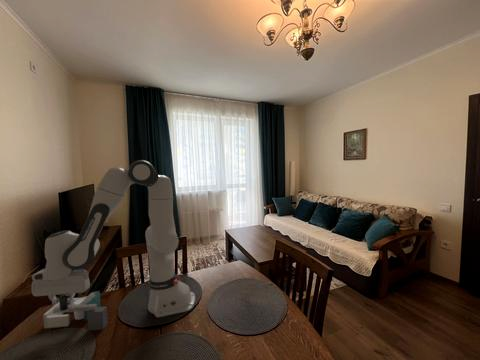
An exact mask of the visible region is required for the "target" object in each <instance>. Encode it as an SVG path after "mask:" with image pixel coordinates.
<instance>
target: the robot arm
mask: <svg viewBox="0 0 480 360" xmlns="http://www.w3.org/2000/svg"><path fill="white" fill-rule="evenodd" d="M172 183H173V182H172V181H171V178H170V177H168V176H167V175H163V174H158V172H157V170H156V169H155V167H154V166H153V164H152V163H151V162H149V161H147V160H144V159H140V160H135V161H134V162H131V164H130V165H129V167H128V168H124V167H119V166H118V167H117V166H113V167H110V168H109V169H108V170H107V171H106V172H105V174H104V176H103V177H102V178H101V180H100V182H99V184H98V185H97V188H96V189H95V193H94V195H93V199H92V203H91V206H90V209H89V211H88V216H87V218H86V220H85V223H84V224H83V226H82V228H81V231H80V233H76V232H73V231H71V230H69V229H68V230H61V231H57V232H54V233H52V234H50V235H49V236H47V238H46V239H45V240H44V241H45V243H44V258H45V259H46V263H45V268H42V269H41V270H39V271H37V272H36V273H34V274H32V275H31V279H32V283H31V294H32V296H34V297H43V296H44V297H45V296H48V297H47V298H48V299H49V300H50V301H51V305H53V306H54V305H56V304H58V303H59V297H57V296H56V295H62V294H69V299H67V303H72V302H73V301H74V299H73V298H75V296H76V294H81V293H82V294H83V293H85V292H87V291H88V289H90V287H91V283H90V282H91V281H90V278H89V271H87V270H86V269H85V268H88V267H89V266H90V265H91V264H92V263H93V262H94V259H95V257H96V255H97V253H98V252H99V249H100V247H101V242H100V240H99V237H100V236H99V235H100V234H101V232H102V229H103V227H104V225H105V224H106V222H107V221H108V219H109V218H110V217H111V216H112V214H114V213H115V212H116V210H117V209H118V208H119V206H120V205H121V204H122V202H123V200H124V198H125V197H126V193H127V191H128V189H129V187H130V186H131V185H133V184H137V185H140V186H144V187H147V190H148V217H149V223H150V225H149V226H148V227H147V228H146V230H145V232H144V233H145V234H144V235H145V236H144V237H145V241H146V242H145V243H146V251H147V256H148V261H149V276H150V277H149V283H148V284H149V285H148V286H149V299H148V305H147V310H148V311H149V313H151V314H152V315H153V314H154V315H153V316H155V317H156V318H161V317H166V316H171V315H176V314H181V313H185V312H188V311H191V310H192V309H193V307H194V306H195V303H196V295H195V293H194V292H192V291H191V290H190V286H189V285H188V284H187V283H184V282H182V281H181V280H179V279H180V278H179V274H176V273H175V262H174V261H175V260H174V256H173V252H174V251H176V250H177V248H178V246H179V241H180V240H179V237H178V234H177V230H176V224H175V218H174V217H175V216H174V192H173V184H172Z"/></svg>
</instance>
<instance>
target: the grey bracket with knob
mask: <svg viewBox="0 0 480 360" xmlns="http://www.w3.org/2000/svg"><path fill="white" fill-rule="evenodd" d="M58 298H59V305H60V307H55V308H54V309H53V313H63V314H64V313H74V312H76V311H84V318H83V320H84V321H85V322H88V317H87V312H88V311H89V310H95V309H96V308H97V307H102V306H101V293H100V290H99V291H98V290H97V291H94V292H93V291H92V292H90V293H89V294H88V295H87V297H86V298H85V299H84V300H83V301H82V302H81V303H80V304H79V305H76V306H70V303H67V299H69V298H70V296H69V294H59V296H58Z"/></svg>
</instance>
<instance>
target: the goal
mask: <svg viewBox="0 0 480 360" xmlns="http://www.w3.org/2000/svg"><path fill="white" fill-rule="evenodd" d="M79 298H80V297H73V299H74V301H75V300H77V299H79ZM74 301H73V302H74ZM73 302H72V303H73ZM72 303H70V306H72ZM55 307H60V305H59V303H58V304H56V305H53V306H52V307H51V308H49V310H47V311H46V312H45V313H44V314H43V328H44V329H51V328H52V329H53V328H61V327H69V325H70V323H71V320H70V314H68V313H67V314H64V313H53V309H54V308H55Z"/></svg>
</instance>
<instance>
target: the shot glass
mask: <svg viewBox="0 0 480 360" xmlns="http://www.w3.org/2000/svg"><path fill="white" fill-rule="evenodd" d="M87 296H88V295H87ZM87 296H82V297H78V298H79V299H77V300H75V301H74V302H73V303H72V306H76V305H79V304H80V303H81V302H82V301H83V300H84V299H85V298H86V297H87ZM73 315H74V319H75V320H82V319H83V320H84V311H76V312H73Z"/></svg>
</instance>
